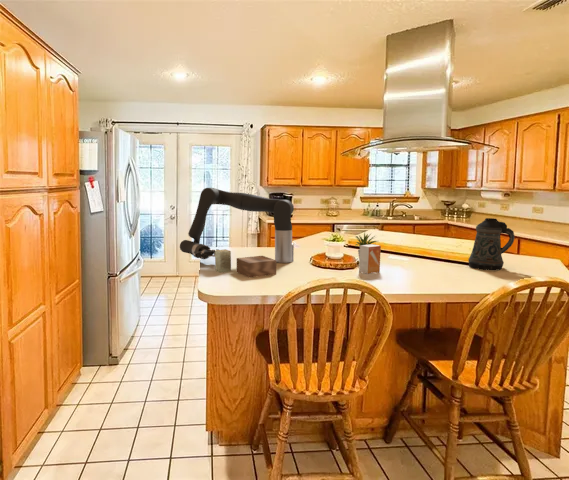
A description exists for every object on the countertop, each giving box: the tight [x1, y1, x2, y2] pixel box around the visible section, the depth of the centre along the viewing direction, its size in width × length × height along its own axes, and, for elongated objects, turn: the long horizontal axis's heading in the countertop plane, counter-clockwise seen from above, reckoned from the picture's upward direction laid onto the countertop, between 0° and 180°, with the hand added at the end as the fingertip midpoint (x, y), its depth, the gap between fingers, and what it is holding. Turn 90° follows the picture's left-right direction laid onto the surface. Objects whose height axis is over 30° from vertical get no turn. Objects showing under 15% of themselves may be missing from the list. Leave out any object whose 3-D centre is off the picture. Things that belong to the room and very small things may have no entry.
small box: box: [358, 243, 382, 275], centre depth 218 cm, size 8×6×13 cm
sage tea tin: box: [214, 249, 232, 273], centre depth 220 cm, size 6×6×10 cm
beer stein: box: [467, 217, 516, 271], centre depth 229 cm, size 16×19×25 cm
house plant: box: [354, 232, 378, 260], centre depth 242 cm, size 14×14×16 cm
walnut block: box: [236, 255, 277, 278], centre depth 215 cm, size 14×14×7 cm
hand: (214, 255), depth 228 cm, fingers open, 8 cm apart
